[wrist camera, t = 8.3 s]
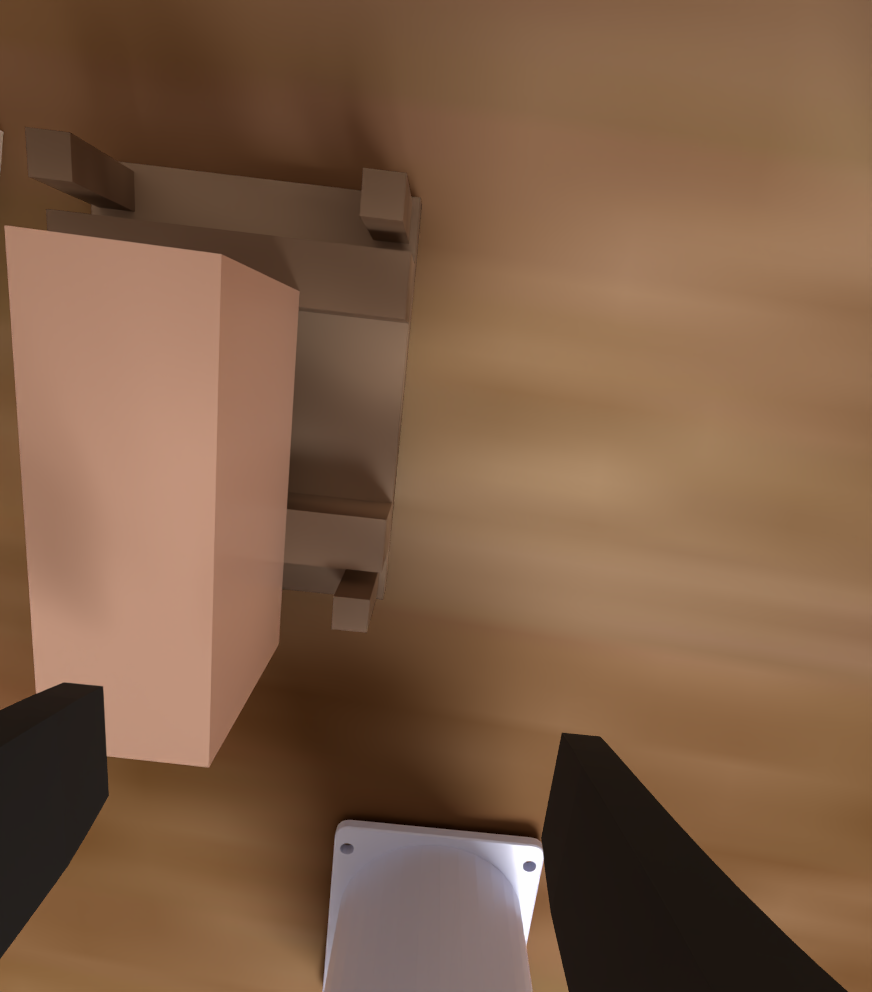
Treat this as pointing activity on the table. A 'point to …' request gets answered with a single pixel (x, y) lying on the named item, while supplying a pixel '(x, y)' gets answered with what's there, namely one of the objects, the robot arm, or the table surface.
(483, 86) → the table surface
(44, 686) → the salmon pink block
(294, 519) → the rack
